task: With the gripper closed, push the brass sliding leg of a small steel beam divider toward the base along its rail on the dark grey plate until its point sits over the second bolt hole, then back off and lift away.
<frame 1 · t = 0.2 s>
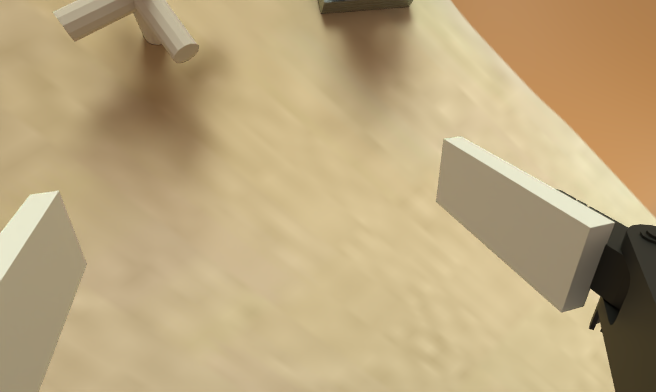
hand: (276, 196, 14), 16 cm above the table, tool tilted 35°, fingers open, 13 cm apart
pipe connector: (156, 34, 30), on the table
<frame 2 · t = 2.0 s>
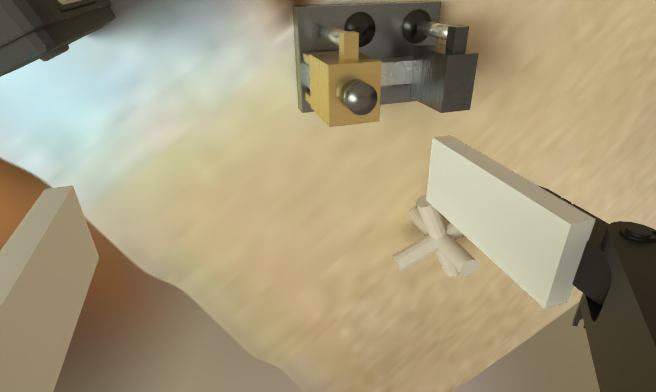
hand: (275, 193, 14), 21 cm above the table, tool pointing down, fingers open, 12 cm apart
bolt plate: (364, 55, 34), on the table
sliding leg: (342, 73, 28), point 6 cm above the table, slide at 0.0 cm
pipe connector: (415, 212, 44), on the table
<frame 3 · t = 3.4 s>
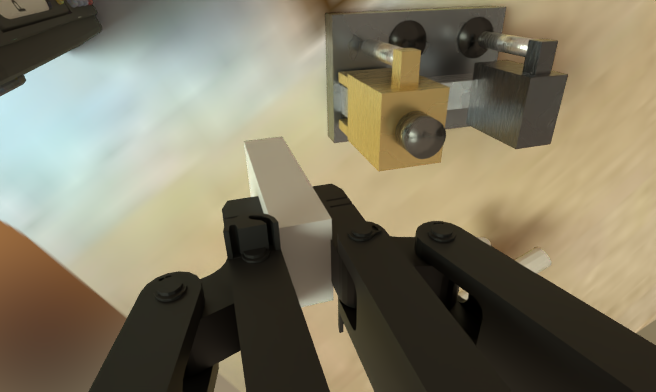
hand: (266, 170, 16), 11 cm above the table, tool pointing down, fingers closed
bolt plate: (408, 72, 28), on the table
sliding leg: (391, 100, 22), point 6 cm above the table, slide at 0.0 cm
pipe connector: (457, 251, 38), on the table
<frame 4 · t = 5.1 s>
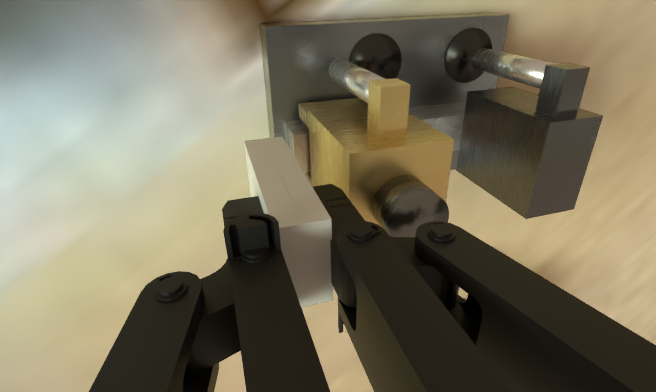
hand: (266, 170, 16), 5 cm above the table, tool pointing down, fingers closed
bolt plate: (380, 100, 21), on the table
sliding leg: (369, 150, 15), point 6 cm above the table, slide at 0.9 cm, touching gripper
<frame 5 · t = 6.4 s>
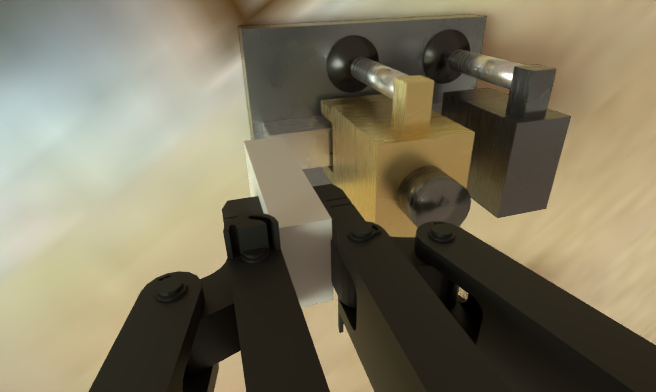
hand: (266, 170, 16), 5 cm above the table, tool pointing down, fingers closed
bolt plate: (360, 101, 21), on the table
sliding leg: (391, 144, 16), point 6 cm above the table, slide at 3.0 cm
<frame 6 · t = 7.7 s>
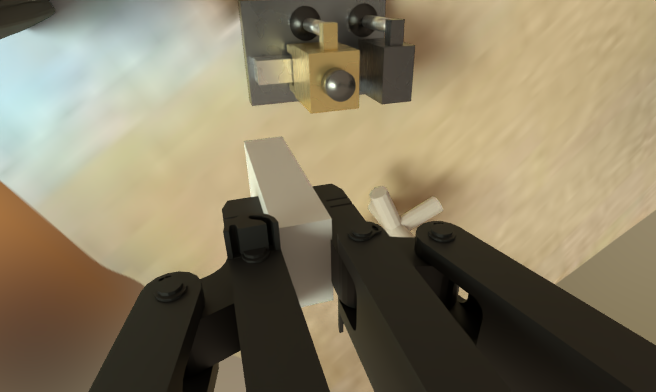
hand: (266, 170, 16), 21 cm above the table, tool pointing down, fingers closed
bolt plate: (313, 48, 35), on the table
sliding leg: (323, 63, 29), point 6 cm above the table, slide at 3.0 cm
pipe connector: (374, 204, 45), on the table
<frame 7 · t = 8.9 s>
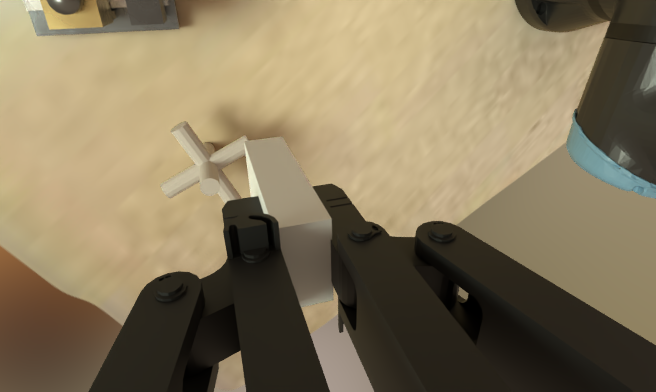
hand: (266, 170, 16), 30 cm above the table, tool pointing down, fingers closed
pipe connector: (206, 149, 46), on the table
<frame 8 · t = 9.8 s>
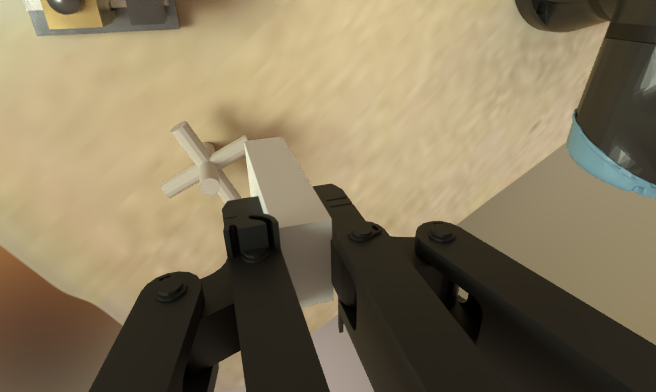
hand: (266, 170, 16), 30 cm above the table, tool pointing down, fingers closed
pipe connector: (206, 149, 46), on the table
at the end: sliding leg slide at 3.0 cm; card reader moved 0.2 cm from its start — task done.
